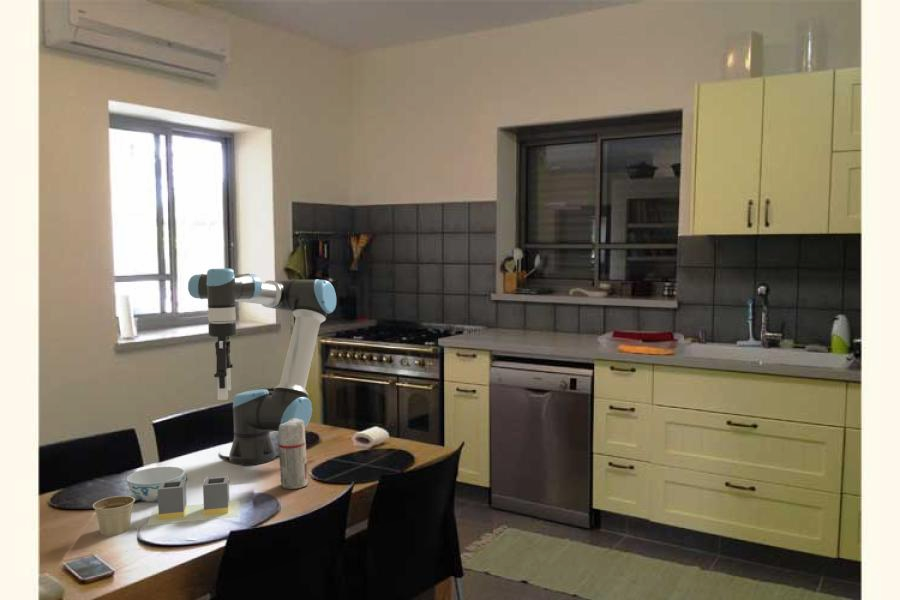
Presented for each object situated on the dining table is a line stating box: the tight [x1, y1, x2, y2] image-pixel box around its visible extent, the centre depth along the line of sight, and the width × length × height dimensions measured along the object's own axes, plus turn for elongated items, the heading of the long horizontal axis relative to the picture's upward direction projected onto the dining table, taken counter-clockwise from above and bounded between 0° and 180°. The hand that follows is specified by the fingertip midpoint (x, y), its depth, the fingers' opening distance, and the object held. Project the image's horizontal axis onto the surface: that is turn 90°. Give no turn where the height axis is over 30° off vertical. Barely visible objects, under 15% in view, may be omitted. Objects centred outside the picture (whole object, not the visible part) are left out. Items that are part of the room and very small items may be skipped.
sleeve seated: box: [157, 479, 188, 520], centre depth 181 cm, size 6×6×8 cm
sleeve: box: [202, 475, 231, 515], centre depth 184 cm, size 6×6×8 cm
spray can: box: [277, 418, 309, 490], centre depth 207 cm, size 8×8×20 cm
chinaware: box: [126, 466, 185, 503], centre depth 195 cm, size 15×15×8 cm
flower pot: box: [92, 495, 136, 537], centre depth 171 cm, size 9×9×9 cm
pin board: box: [146, 500, 241, 527], centre depth 183 cm, size 12×22×6 cm, turn 104°
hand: (224, 394), depth 201 cm, fingers open, 13 cm apart
